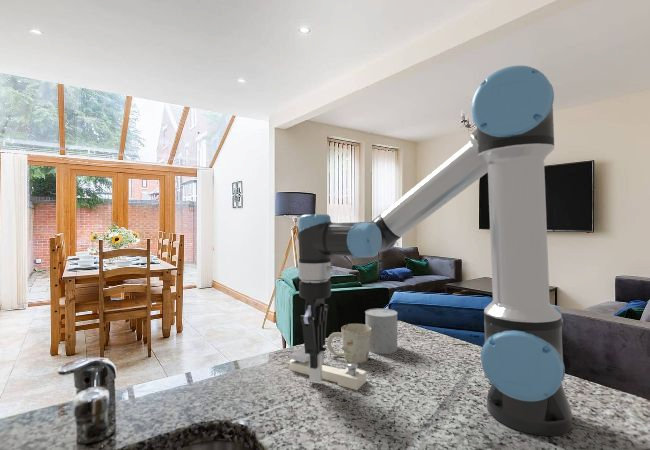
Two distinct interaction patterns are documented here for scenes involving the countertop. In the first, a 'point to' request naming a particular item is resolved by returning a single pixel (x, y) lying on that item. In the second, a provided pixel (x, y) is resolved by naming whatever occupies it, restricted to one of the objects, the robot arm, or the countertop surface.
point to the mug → (353, 342)
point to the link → (333, 374)
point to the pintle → (352, 368)
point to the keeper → (302, 356)
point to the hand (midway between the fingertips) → (315, 379)
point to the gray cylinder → (382, 330)
